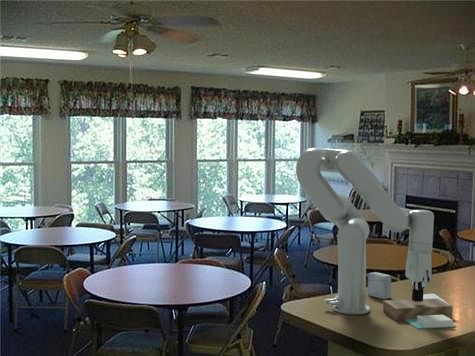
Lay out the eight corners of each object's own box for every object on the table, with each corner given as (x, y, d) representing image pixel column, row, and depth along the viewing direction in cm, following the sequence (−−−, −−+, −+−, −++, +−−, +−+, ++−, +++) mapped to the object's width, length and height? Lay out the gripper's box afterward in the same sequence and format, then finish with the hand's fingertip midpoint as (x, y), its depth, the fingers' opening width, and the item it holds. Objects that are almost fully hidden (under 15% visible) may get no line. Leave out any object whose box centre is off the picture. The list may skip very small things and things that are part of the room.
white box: (417, 315, 183) (416, 321, 183) (426, 321, 177) (425, 327, 177) (442, 314, 184) (442, 320, 184) (452, 320, 178) (452, 326, 178)
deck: (395, 320, 186) (395, 308, 185) (383, 312, 196) (383, 300, 195) (452, 318, 189) (452, 306, 189) (437, 309, 199) (437, 298, 198)
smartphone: (452, 309, 201) (434, 297, 217) (452, 305, 201) (434, 293, 217) (428, 310, 200) (412, 297, 216) (428, 305, 200) (412, 293, 216)
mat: (417, 329, 177) (417, 327, 177) (404, 320, 186) (404, 319, 186) (456, 327, 179) (456, 325, 179) (441, 318, 188) (441, 317, 188)
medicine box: (391, 298, 214) (391, 275, 214) (383, 299, 212) (383, 276, 211) (375, 293, 221) (375, 271, 220) (367, 295, 218) (367, 273, 218)
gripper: (400, 242, 196) (397, 295, 197) (420, 251, 181) (417, 307, 182) (420, 243, 197) (417, 295, 198) (442, 251, 182) (438, 307, 183)
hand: (417, 300), depth 190 cm, fingers closed
